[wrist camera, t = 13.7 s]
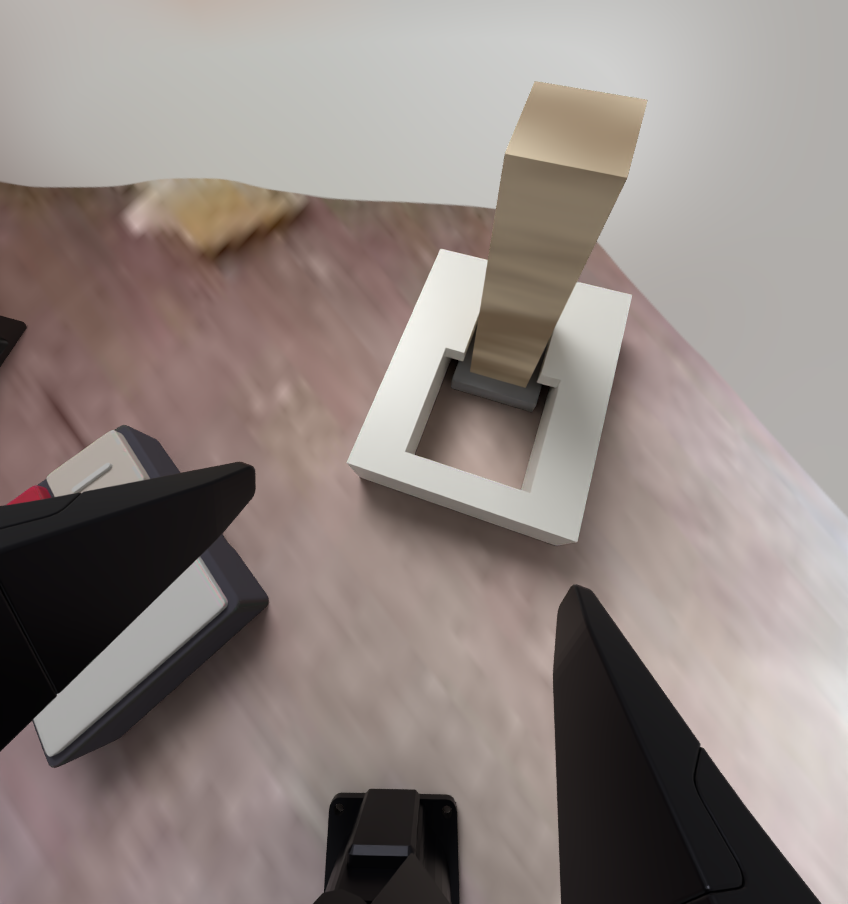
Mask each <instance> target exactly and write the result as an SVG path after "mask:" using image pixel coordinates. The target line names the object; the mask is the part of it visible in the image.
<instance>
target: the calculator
mask: <svg viewBox="0 0 848 904" xmlns="http://www.w3.org/2000/svg"><path fill="white" fill-rule="evenodd" d="M178 473H180V471H179V470H178V468H177V467H176V466H175V464H174V463H173V461H172V460H171V459H170V457H169V456H168V454H167V453H166V451H165V450H164V449H163V447H162V446H161V444H160V443H159V442H158V441H157V440H156V439H154V438H152V437H150V436H148V435H146V434H144V433H142V432H140V431H138V430H135V429H133V428H131V427H129V426H127V425H122V426H120V427H118V428H117V429H115V430H111V431H109V432H108V433H106V434H105V435H103V436H102V437H101V438H99V439H98V440H96V441H95V442H94V443H92V444H91V445H89V446H88V447H87V448H85V449H84V450H82V451H81V452H80V453H78V454H77V455H75V456H74V457H73V458H71V459H70V460H68V461H67V462H66V463H64V464H63V465H61V466H60V467H59V468H57V469H56V470H54V471H53V472H52V473H50V474H49V475H48V476H47V479H45V480H44V481H42V482H41V483H40V484H38V485H35V486H32V487H31V488H29V489H28V490H26V491H25V492H23V493H22V494H21V495H19V496H18V497H16V498H15V499H14V500H12V501H11V502H9V503H8V504H7V505H11V504H17V503H24V502H30V501H35V500H41V499H46V498H52V497H58V496H63V495H68V494H73V493H78V492H80V493H82V492H84V491H89V490H94V489H100V488H105V487H110V486H115V485H120V484H126V483H131V482H136V481H141V480H147V479H152V478H157V477H162V476H167V475H173V474H178ZM268 602H269V599H268V596H267V594H266V593H265V591H264V590H263V589H262V587H261V586H260V584H259V583H258V581H257V580H256V579H255V577H254V576H253V574H252V573H251V572H250V570H249V569H248V567H247V566H246V564H245V563H244V562H243V560H242V559H241V557H240V556H239V555H238V553H237V552H236V551H235V549H234V548H232V547H231V546H230V545H229V543H228V542H227V541H226V539H225V538H224V536H223V535H221V536H220V537H219V538H218V539H217V540H216V541H215V542H214V543H213V544H212V545H211V546H210V547H209V548H208V549H207V550H206V551H205V552H204V553H203V554H202V555H201V556H200V557H199V558H198V559H197V560H196V561H195V562H194V563H193V564H192V565H191V566H190V567H189V568H188V569H187V570H186V571H185V572H183V573H182V574H181V575H180V576H179V577H178V578H177V579H176V580H175V581H174V582H173V583H172V584H171V585H170V586H169V587H168V588H167V589H166V590H165V591H164V592H163V593H162V594H161V595H160V596H159V597H158V598H157V599H156V600H155V601H154V602H153V603H152V604H151V605H150V606H149V607H148V608H147V609H146V610H145V611H144V612H142V613H141V614H140V615H139V616H138V617H137V618H136V619H135V620H134V621H133V622H132V623H131V624H130V625H129V626H128V627H127V628H126V629H125V630H124V631H123V632H122V633H121V634H120V635H119V636H118V637H117V638H116V639H115V640H114V641H113V642H112V643H111V644H110V645H109V646H108V647H107V648H106V649H105V650H104V651H103V652H101V653H100V654H99V655H98V656H97V657H96V658H95V659H94V660H93V661H92V662H91V663H90V664H89V665H88V666H87V667H86V668H85V669H84V670H83V671H82V672H81V673H80V674H79V675H78V676H77V677H76V678H75V679H74V680H73V681H72V682H71V683H70V684H69V685H68V686H67V687H66V688H65V689H64V690H63V691H62V692H61V693H59V694H57V697H56V698H55V699H54V700H53V701H52V702H51V703H50V704H49V705H48V706H46V707H45V708H44V709H43V710H42V711H41V712H40V713H39V714H38V715H37V716H36V717H35V718H34V719H33V720H32V721H33V724H34V727H35V729H36V732H37V735H38V737H39V740H40V743H41V745H42V748H43V751H44V754H45V756H46V759H47V761H48V763H49V765H50V766H51V767H53V768H56V767H59V766H61V765H64V764H66V763H68V762H70V761H72V760H74V759H77V758H79V757H81V756H83V755H85V754H87V753H89V752H91V751H94V750H96V749H98V748H100V747H102V746H104V745H106V744H108V743H111V742H113V741H115V740H117V739H119V738H120V737H121V736H122V735H123V734H125V733H126V732H127V731H128V730H129V729H130V728H131V727H132V726H134V725H135V724H136V723H137V722H138V721H139V720H140V719H141V718H143V717H144V716H145V715H146V714H147V713H148V712H149V711H150V710H151V709H153V708H154V707H155V706H156V705H157V704H158V703H159V702H160V701H162V700H163V699H164V698H165V697H166V696H167V695H168V694H169V693H170V692H172V691H173V690H174V689H175V688H176V687H177V686H178V685H179V684H181V683H182V682H183V681H184V680H185V679H186V678H187V677H188V676H189V675H191V674H192V673H193V672H194V671H195V670H196V669H197V668H198V667H200V666H201V665H202V664H203V663H204V662H205V661H206V660H207V659H208V658H210V657H211V656H212V655H213V654H214V653H215V652H216V651H217V650H218V649H220V648H221V647H222V646H223V645H224V644H225V643H226V642H227V641H229V640H230V639H231V638H232V637H233V636H234V635H235V634H236V633H237V632H239V631H240V630H241V629H242V628H243V627H244V626H245V625H246V624H248V623H249V622H250V621H251V620H252V619H253V618H254V617H255V616H256V615H258V614H259V613H260V612H261V611H262V610H263V609H264V608H265V607H266V606H267V605H268Z"/></svg>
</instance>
